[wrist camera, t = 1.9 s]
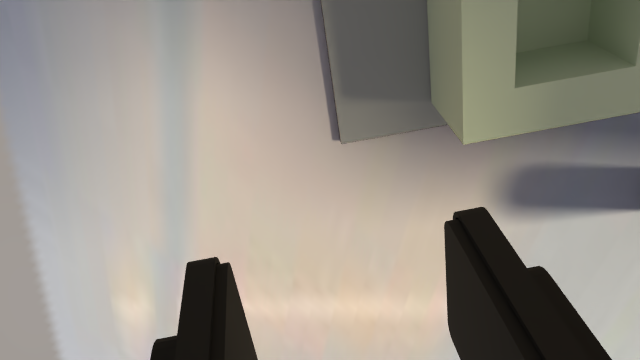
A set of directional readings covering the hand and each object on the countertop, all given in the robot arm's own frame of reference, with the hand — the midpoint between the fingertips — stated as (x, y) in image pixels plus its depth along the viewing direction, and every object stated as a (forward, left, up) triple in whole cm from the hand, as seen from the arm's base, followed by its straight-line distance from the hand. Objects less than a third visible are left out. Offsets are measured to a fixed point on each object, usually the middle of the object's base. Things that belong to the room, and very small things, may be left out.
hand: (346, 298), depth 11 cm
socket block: (-12, 0, -19) cm, 23 cm away
